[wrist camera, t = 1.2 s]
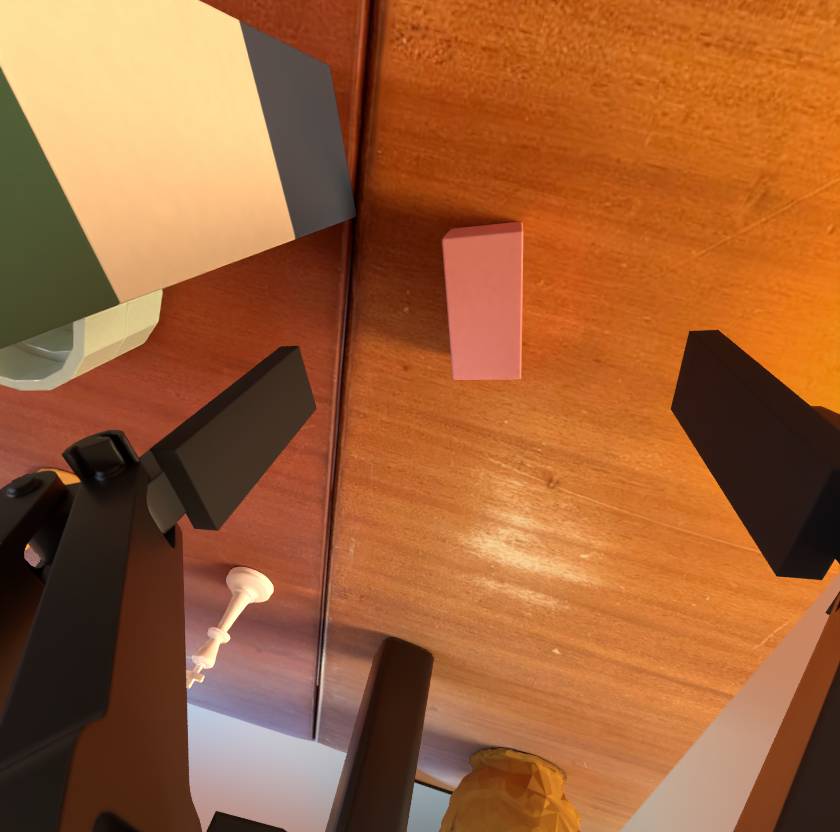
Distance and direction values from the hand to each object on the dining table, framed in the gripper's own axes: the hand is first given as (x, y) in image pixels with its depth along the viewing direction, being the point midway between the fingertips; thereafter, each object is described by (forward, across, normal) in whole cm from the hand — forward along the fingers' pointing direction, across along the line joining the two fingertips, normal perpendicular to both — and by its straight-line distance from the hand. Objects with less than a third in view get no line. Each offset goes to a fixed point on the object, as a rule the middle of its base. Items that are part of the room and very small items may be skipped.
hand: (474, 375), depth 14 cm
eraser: (+9, 0, 0) cm, 9 cm away
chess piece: (+9, -25, -28) cm, 39 cm away
